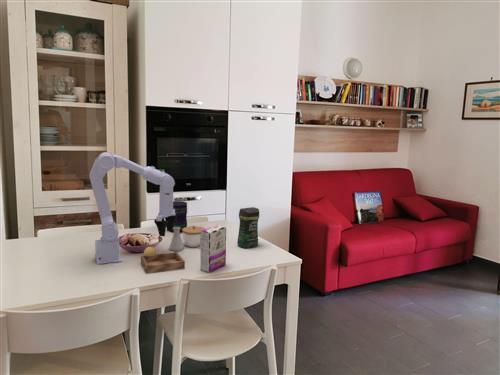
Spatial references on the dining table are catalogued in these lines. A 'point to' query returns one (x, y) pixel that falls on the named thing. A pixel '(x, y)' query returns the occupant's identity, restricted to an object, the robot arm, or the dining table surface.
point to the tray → (162, 262)
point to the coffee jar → (248, 227)
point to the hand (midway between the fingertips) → (165, 233)
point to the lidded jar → (192, 235)
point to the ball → (149, 251)
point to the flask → (176, 241)
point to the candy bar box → (213, 248)
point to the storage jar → (180, 215)
